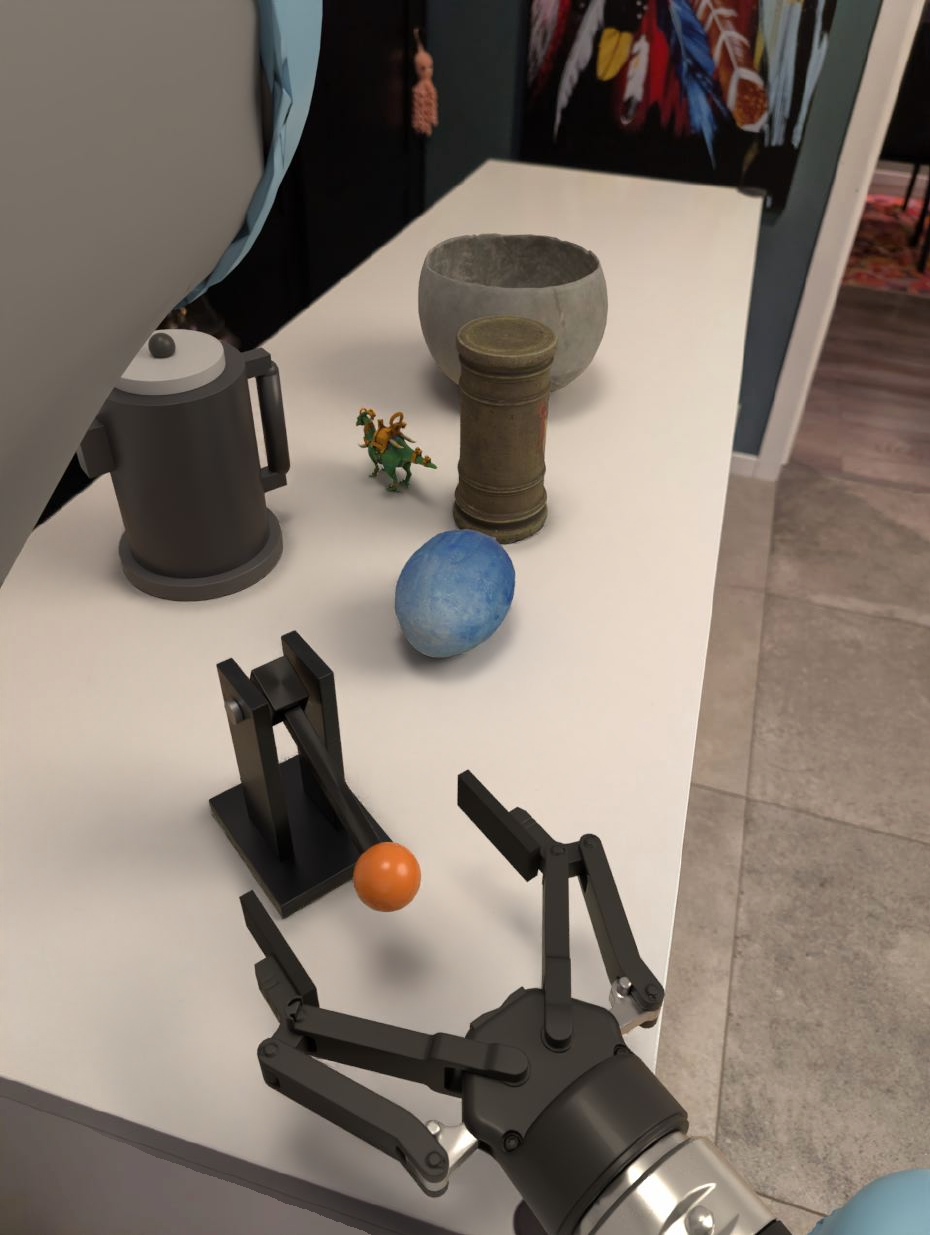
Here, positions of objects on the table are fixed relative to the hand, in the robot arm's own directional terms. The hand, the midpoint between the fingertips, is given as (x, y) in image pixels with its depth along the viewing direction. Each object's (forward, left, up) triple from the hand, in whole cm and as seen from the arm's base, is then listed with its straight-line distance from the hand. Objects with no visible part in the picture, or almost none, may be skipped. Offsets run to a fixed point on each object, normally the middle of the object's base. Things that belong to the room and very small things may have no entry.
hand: (361, 843), depth 52 cm
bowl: (+50, +49, -8) cm, 71 cm away
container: (+33, +29, -8) cm, 45 cm away
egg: (+21, +19, -8) cm, 29 cm away
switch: (0, +3, +1) cm, 3 cm away
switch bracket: (0, +8, -8) cm, 11 cm away
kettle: (+8, +40, -8) cm, 42 cm away
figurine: (+28, +39, -8) cm, 49 cm away
